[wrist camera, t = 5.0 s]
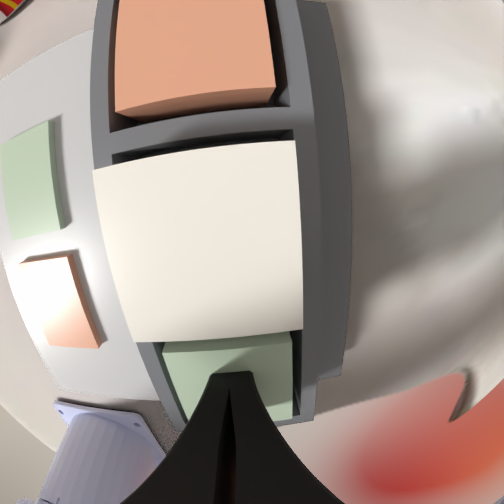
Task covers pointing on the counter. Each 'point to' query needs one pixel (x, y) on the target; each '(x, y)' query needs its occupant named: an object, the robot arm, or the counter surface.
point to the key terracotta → (191, 57)
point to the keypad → (148, 145)
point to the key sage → (234, 368)
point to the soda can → (9, 8)
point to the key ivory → (205, 241)
